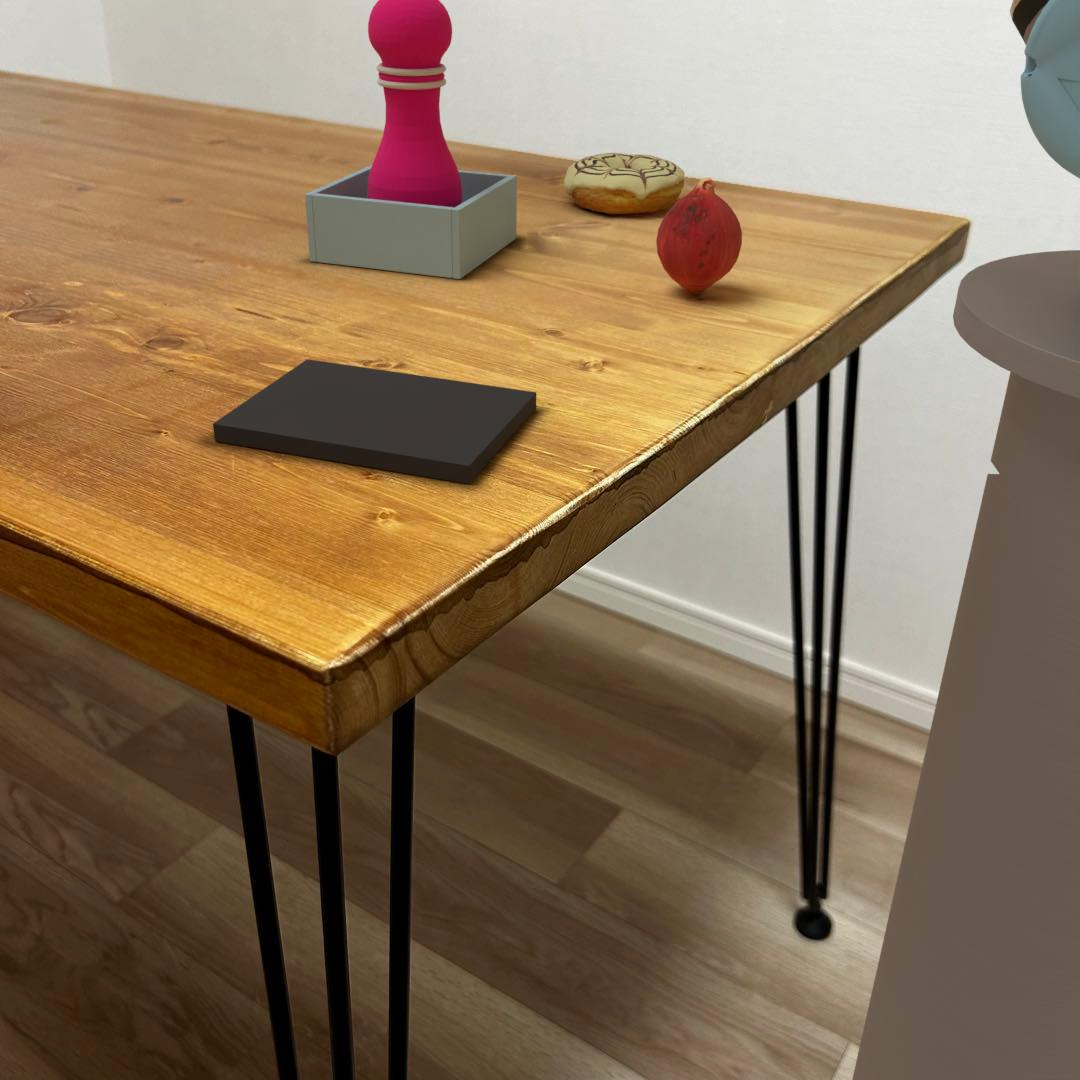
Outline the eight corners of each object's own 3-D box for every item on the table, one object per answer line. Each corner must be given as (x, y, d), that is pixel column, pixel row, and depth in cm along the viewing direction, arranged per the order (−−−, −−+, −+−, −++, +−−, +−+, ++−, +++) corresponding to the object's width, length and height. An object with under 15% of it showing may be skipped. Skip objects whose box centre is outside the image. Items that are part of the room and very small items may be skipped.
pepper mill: (453, 235, 97) (449, -38, 87) (471, 259, 91) (469, -31, 81) (364, 239, 95) (350, -38, 86) (377, 264, 89) (363, -31, 79)
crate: (516, 238, 97) (517, 175, 94) (460, 279, 86) (459, 209, 84) (379, 223, 100) (376, 162, 97) (309, 261, 90) (304, 193, 87)
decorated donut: (545, 209, 105) (545, 165, 103) (593, 185, 114) (594, 144, 112) (655, 223, 101) (658, 178, 100) (696, 198, 110) (700, 155, 108)
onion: (709, 312, 81) (719, 192, 77) (637, 295, 84) (644, 179, 80) (750, 292, 85) (762, 177, 81) (680, 277, 88) (689, 165, 84)
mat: (536, 409, 66) (536, 391, 65) (469, 484, 57) (469, 465, 57) (308, 375, 69) (307, 358, 69) (214, 441, 61) (212, 423, 60)
